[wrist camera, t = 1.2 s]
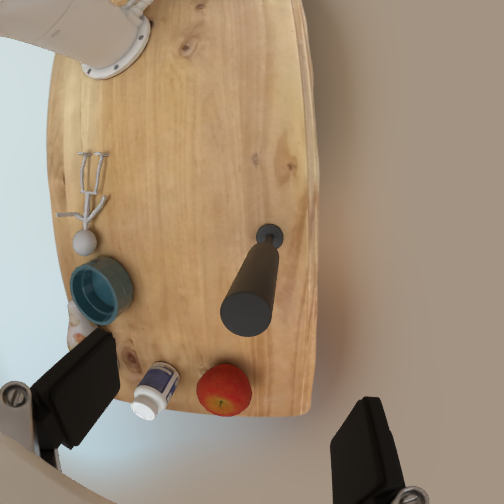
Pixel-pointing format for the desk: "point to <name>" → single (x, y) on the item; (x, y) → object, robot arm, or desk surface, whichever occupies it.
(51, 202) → the desk surface
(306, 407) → the desk surface
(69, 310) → the mug
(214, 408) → the apple
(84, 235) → the figurine
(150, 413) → the pill bottle
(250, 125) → the desk surface
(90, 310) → the bowl
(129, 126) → the desk surface
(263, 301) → the cylinder on disc stand
